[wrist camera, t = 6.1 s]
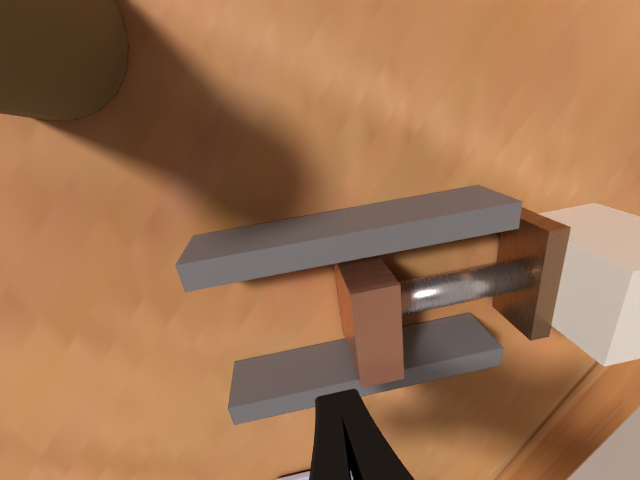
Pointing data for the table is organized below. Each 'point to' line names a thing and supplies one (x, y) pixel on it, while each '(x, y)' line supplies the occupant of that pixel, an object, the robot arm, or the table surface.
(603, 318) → the block
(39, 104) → the cork
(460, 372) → the track
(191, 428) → the table surface
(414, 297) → the ram
